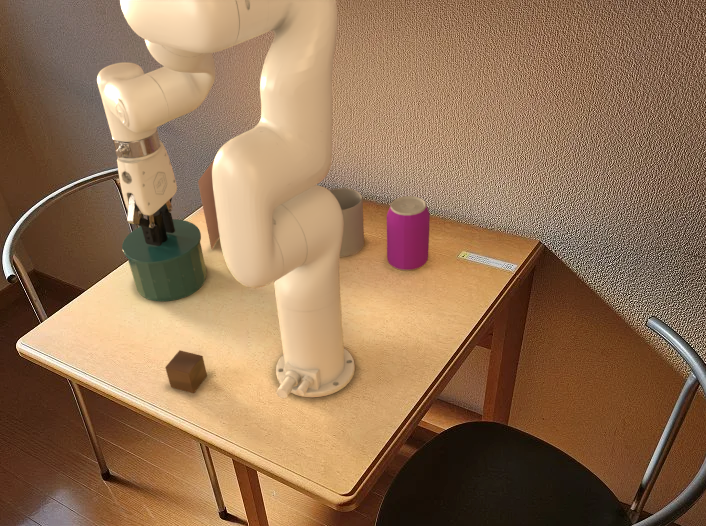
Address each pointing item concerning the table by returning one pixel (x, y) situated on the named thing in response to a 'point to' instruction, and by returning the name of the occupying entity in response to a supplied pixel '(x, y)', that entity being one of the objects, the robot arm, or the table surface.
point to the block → (186, 371)
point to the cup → (351, 220)
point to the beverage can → (408, 233)
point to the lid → (171, 246)
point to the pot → (170, 277)
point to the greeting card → (209, 205)
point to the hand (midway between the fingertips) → (160, 236)
